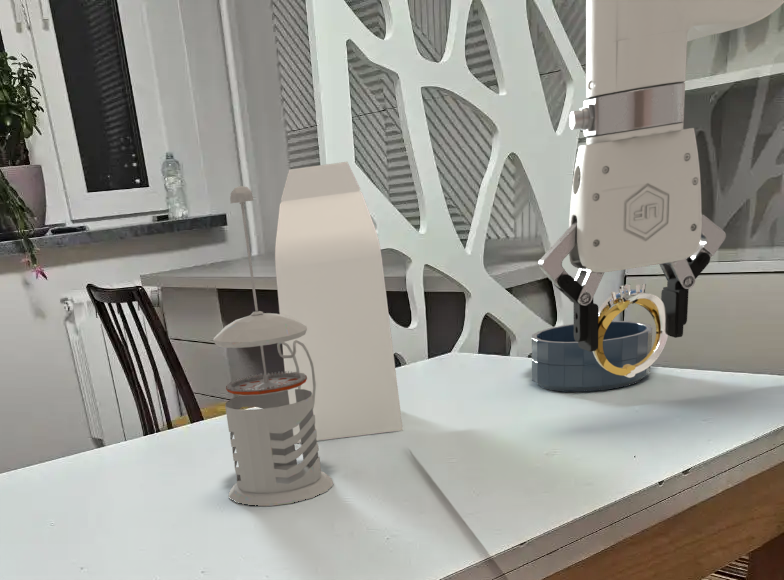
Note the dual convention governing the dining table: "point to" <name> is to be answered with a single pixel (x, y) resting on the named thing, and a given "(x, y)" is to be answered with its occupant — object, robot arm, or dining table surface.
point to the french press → (271, 411)
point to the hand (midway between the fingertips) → (629, 340)
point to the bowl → (588, 357)
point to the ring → (622, 302)
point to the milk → (336, 302)
